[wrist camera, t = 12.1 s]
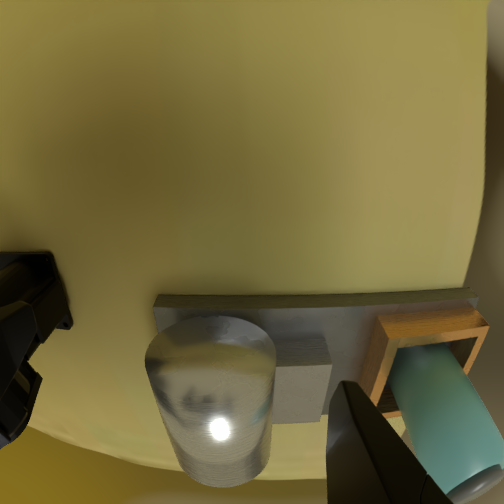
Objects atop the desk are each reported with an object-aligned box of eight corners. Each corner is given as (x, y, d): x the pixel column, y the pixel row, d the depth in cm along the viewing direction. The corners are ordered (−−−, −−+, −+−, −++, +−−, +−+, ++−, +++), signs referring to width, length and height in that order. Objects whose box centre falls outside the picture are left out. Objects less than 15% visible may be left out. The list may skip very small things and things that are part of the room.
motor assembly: (181, 401, 25) (164, 484, 17) (158, 294, 21) (116, 388, 13) (430, 386, 25) (462, 455, 17) (469, 287, 21) (530, 355, 13)
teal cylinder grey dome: (375, 383, 22) (420, 522, 11) (392, 332, 20) (464, 487, 9) (430, 375, 22) (486, 495, 11) (451, 326, 20) (532, 453, 9)
